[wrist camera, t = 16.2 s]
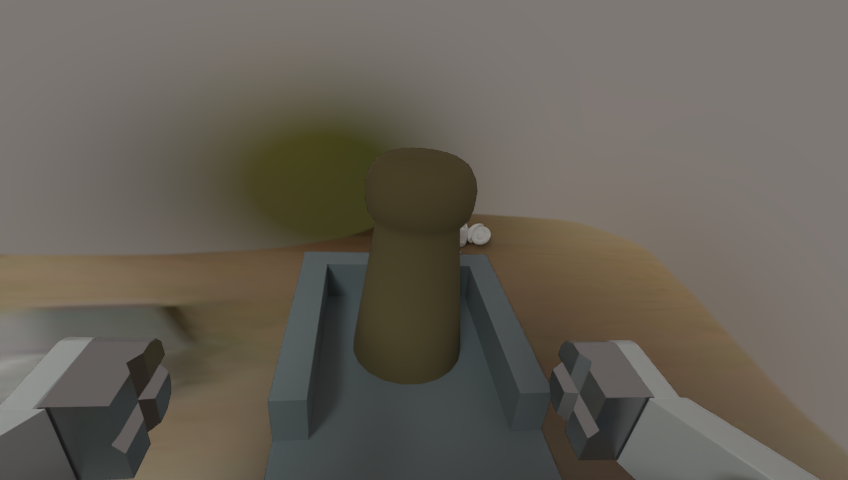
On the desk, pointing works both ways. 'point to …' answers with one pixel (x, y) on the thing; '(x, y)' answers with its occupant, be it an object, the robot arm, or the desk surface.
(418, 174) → the cork
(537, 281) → the desk surface
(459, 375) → the tray
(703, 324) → the desk surface
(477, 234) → the figurine
